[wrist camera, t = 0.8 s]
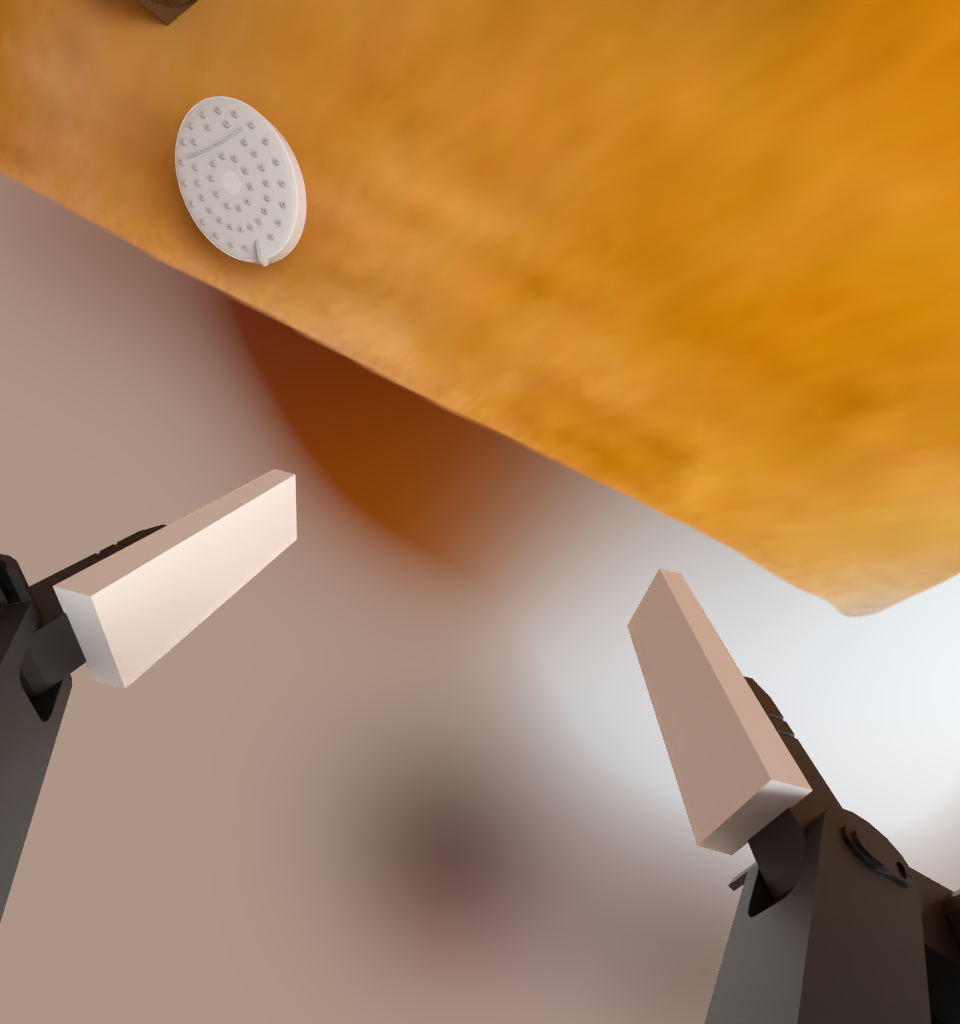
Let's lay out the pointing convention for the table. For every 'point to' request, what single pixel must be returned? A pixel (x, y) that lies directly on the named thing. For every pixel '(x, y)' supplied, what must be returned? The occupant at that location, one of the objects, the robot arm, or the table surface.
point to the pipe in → (167, 8)
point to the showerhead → (240, 181)
